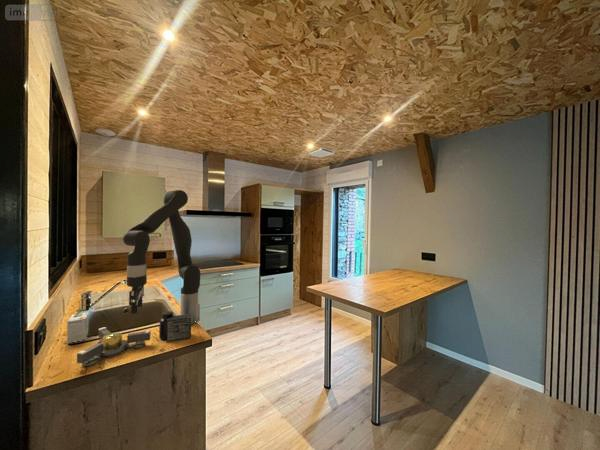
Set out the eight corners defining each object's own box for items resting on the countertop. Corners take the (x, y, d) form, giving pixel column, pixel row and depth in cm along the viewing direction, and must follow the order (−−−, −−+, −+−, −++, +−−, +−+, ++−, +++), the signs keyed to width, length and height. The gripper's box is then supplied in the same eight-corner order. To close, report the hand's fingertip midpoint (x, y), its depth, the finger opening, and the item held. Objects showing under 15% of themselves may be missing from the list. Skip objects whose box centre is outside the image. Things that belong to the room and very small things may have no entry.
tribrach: (121, 335, 123) (121, 321, 123) (147, 345, 113) (147, 330, 113) (64, 356, 103) (64, 340, 103) (90, 370, 93) (90, 352, 93)
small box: (191, 333, 126) (191, 313, 126) (190, 338, 120) (190, 317, 120) (168, 336, 122) (168, 315, 122) (166, 342, 116) (166, 320, 116)
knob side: (111, 342, 112) (111, 331, 112) (104, 344, 110) (104, 333, 110) (104, 337, 117) (105, 326, 117) (98, 339, 115) (98, 328, 115)
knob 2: (127, 346, 109) (127, 335, 109) (128, 343, 111) (128, 332, 111) (149, 342, 113) (149, 331, 113) (150, 340, 115) (150, 329, 115)
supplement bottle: (168, 340, 117) (169, 315, 117) (155, 339, 118) (156, 315, 118) (177, 334, 124) (178, 310, 124) (165, 333, 125) (165, 310, 125)
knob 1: (97, 353, 102) (97, 342, 102) (103, 354, 102) (103, 342, 102) (76, 365, 94) (76, 352, 94) (82, 366, 94) (82, 353, 94)
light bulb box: (71, 335, 122) (71, 314, 122) (88, 332, 126) (88, 311, 126) (66, 344, 113) (66, 321, 113) (85, 340, 117) (85, 318, 117)
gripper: (131, 272, 116) (131, 306, 116) (121, 278, 103) (122, 317, 103) (149, 271, 119) (150, 304, 119) (142, 277, 105) (142, 314, 105)
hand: (137, 310), depth 111 cm, fingers open, 8 cm apart
